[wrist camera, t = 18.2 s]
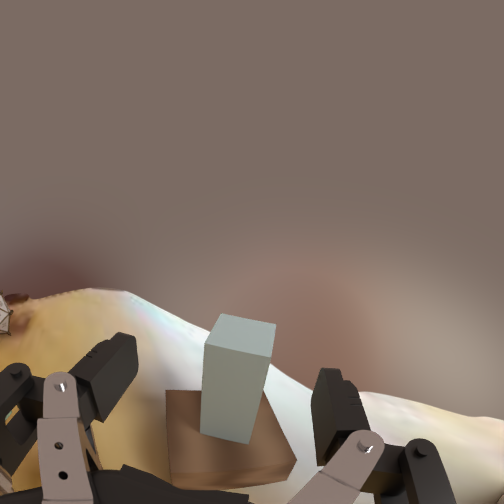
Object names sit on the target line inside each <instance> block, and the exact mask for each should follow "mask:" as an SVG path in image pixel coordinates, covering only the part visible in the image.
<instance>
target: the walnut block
mask: <svg viewBox="0 0 504 504" xmlns="http://www.w3.org/2000/svg"><path fill="white" fill-rule="evenodd" d="M201 394H202V391H187V390H166V420H167V439H168V453H169V464H170V474H171V480H172V485H173V486H175V487H177V488H180V489H184V490H225V489H235V488H244V487H251V486H258V485H264V484H270V483H275V482H280V481H285V480H287V478H288V476H289V475H290V473H291V471H292V469H293V467H294V465H295V463H296V461H297V459H296V457H295V455H294V453H293V451H292V449H291V447H290V445H289V443H288V441H287V439H286V437H285V435H284V433H283V431H282V429H281V427H280V425H279V423H278V421H277V418H276V416H275V414H274V412H273V410H272V408H271V406H270V404H269V402H268V399H267V397H266V395H265V393H264V391H263V392H262V396H261V400H260V404H259V408H258V412H257V415H256V419H255V423H254V427H253V430H252V434H251V438H250V441H249V444H243V443H239V442H234V441H229V440H225V439H221V438H217V437H213V436H209V435H205V434H202V433H200V416H201Z"/></svg>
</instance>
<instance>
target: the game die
mask: <svg viewBox="0 0 504 504" xmlns="http://www.w3.org/2000/svg"><path fill="white" fill-rule="evenodd" d="M2 293H3V291H1V294H0V334H1V333H8V334H9V335H10V336H11V333H10V332H9V323H10V315H12V314H13V310H11V311H10V309H9V307H8V305H7V304H6V302H5V300H4V298H3V296H2Z"/></svg>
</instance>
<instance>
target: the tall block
mask: <svg viewBox="0 0 504 504" xmlns="http://www.w3.org/2000/svg"><path fill="white" fill-rule="evenodd" d="M275 329H276V324H271V323H266V322H260V321H256V320H251V319H245V318H241V317H236V316H232V315H227V314H222V313H221V315H220V316H219V318H218V320H217V322H216V324H215V325H214V327H213V329H212V331H211V333H210V334H209V336H208V338H207V340H206V341H205V345H204V360H203V376H202V394H201V416H200V433H202V434H205V435H209V436H213V437H217V438H221V439H225V440H229V441H234V442H239V443H243V444H249V441H250V438H251V434H252V430H253V427H254V423H255V419H256V415H257V412H258V408H259V404H260V400H261V396H262V392H263V388H264V384H265V380H266V376H267V372H268V368H269V364H270V359H271V354H272V348H273V342H274V336H275Z"/></svg>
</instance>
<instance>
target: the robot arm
mask: <svg viewBox="0 0 504 504" xmlns="http://www.w3.org/2000/svg"><path fill="white" fill-rule="evenodd" d="M138 365H139V364H138V355H137V345H136V338H135V337H134V336H132V335H128V334H125V333H121V332H118V333H116V334H115V335H114V336H113V337H112V338H111V339H110V340H104V341H102V342H100V343H98V344H97V345H96V346H95V347H94V348H92V349H91V351H89V352H88V353H87V354H86V356H84V357H83V358H82V359H81V360H80V361H79V362H78V363H77V364H76V365H75V366H74V367H73V368H72V369H71V370H70V371H69V372H68V373H66V372H56V373H53V374H51V375H49V376H48V377H47V378H41V377H36V376H32V374H31V371H30V369H29V367H28V366H27V365H26V364H23V363H13V364H10V365H9V366H7V367H6V368H5V369H4V370H3V371H2V372H0V504H254V503H251V502H248V499H249V495H248V494H239V493H232V492H225V491H219V490H184V489H180V488H177V487H175V486H173V485H171V484H169V483H167V482H165V481H164V480H162V479H160V478H158V477H156V476H154V475H153V474H150V473H147V472H144V471H141V470H138V469H136V468H133V467H130V466H127V465H125V464H123V466H122V468H121V470H103V467H102V465H101V462H100V459H99V455H98V451H97V447H96V443H95V439H94V434H93V429H92V425H91V422H92V421H93V420H94V419H95V420H98V421H100V422H102V423H104V421H105V420H106V418H107V417H108V415H109V414H110V412H111V411H112V410H113V408H114V407H115V405H116V404H117V402H118V401H119V399H120V398H121V396H122V395H123V394H124V392H125V391H126V389H127V388H128V386H129V385H130V384H131V382H132V381H133V379H134V378H135V376H136V375H137V372H138ZM16 405H17V406H18V408H19V411H18V412H17V413H16V414H15V416H14V417H13V418H12V419H11V420H10V422H9V423H8V424H7V425H5V418H6V416H7V415H8V414H9V412H10V411H11V410H12V409H13V408H14V407H15V406H16ZM311 413H312V422H313V430H314V440H315V449H316V459H317V466H325V467H324V468H323V469H322V470H321V471H319V472H318V473H317V474H316V475H315V476H314V477H313V478H312V479H311V480H310V481H309V482H308V483H307V484H306V485H305V486H304V487H303V488H302V490H301V491H300V492H299V493H298V494H297V495H296V496H295V497H294V498H293V499H292V500H290V501H289V502H288V503H287V504H353V502H354V501H355V499H356V498H357V497H358V495H359V493H360V492H366V493H373V494H374V501H375V504H456V501H455V498H454V495H453V492H452V489H451V486H450V483H449V480H448V477H447V474H446V472H445V469H444V466H443V464H442V461H441V459H440V456H439V453H438V451H437V449H436V447H435V445H434V444H433V443H431V442H430V441H428V440H426V439H420V438H419V439H413V440H411V441H410V442H409V443H408V444H407V445H406V446H405V447H402V446H395V445H389V444H385V443H384V441H383V439H382V438H381V437H380V436H379V435H378V434H377V433H375V432H372V431H371V429H370V426H369V423H368V420H367V417H366V414H365V411H364V408H363V406H362V402H361V399H360V396H359V393H358V390H357V388H356V387H355V386H354V385H353V384H352V383H351V382H350V381H347V380H345V381H344V380H343V378H342V375H341V371H340V369H335V368H321V370H320V372H319V375H318V379H317V382H316V385H315V388H314V391H313V394H312V398H311ZM37 439H38V455H39V466H40V475H41V483H42V486H41V487H37V488H33V489H28V490H24V491H18V492H14V490H13V487H12V479H11V477H12V475H13V474H14V472H15V471H16V469H17V468H18V466H19V465H20V463H21V462H22V461H23V459H24V458H25V456H26V455H27V453H28V452H29V450H30V449H31V448H32V446H33V445H34V443H35V442H36V441H37ZM497 504H504V494H503V495H502V496H501V498H500V499H499V501H498V502H497Z"/></svg>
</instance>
